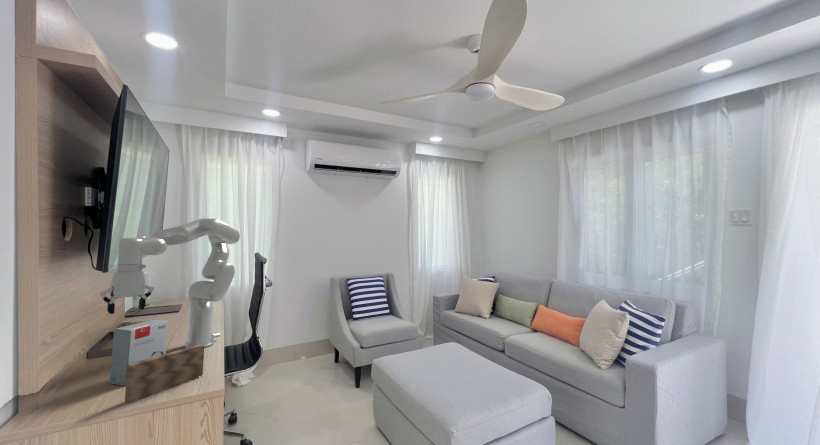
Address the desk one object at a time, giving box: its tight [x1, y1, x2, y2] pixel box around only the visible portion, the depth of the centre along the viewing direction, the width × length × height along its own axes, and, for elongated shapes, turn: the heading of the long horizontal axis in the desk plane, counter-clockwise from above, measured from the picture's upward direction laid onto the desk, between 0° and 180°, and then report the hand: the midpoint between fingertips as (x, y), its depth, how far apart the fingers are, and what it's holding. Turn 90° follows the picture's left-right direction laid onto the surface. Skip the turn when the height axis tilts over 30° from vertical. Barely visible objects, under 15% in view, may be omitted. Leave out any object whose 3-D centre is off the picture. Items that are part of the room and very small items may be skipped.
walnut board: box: [124, 344, 205, 404], centre depth 118 cm, size 24×2×12 cm, turn 154°
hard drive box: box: [109, 319, 169, 387], centre depth 126 cm, size 16×8×20 cm, turn 168°
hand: (126, 311), depth 131 cm, fingers open, 9 cm apart
